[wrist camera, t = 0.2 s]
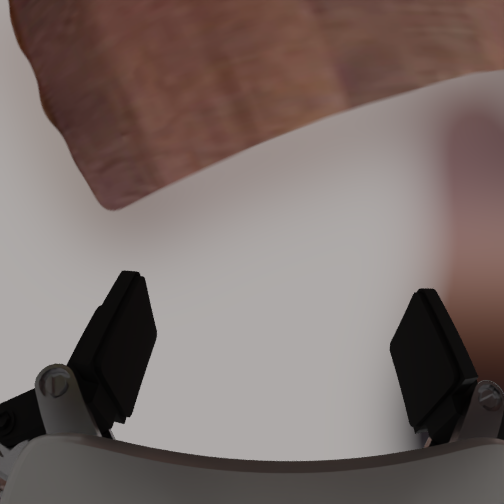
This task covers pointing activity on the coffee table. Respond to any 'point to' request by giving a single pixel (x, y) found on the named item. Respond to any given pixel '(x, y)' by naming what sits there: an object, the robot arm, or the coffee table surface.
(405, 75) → the coffee table surface
